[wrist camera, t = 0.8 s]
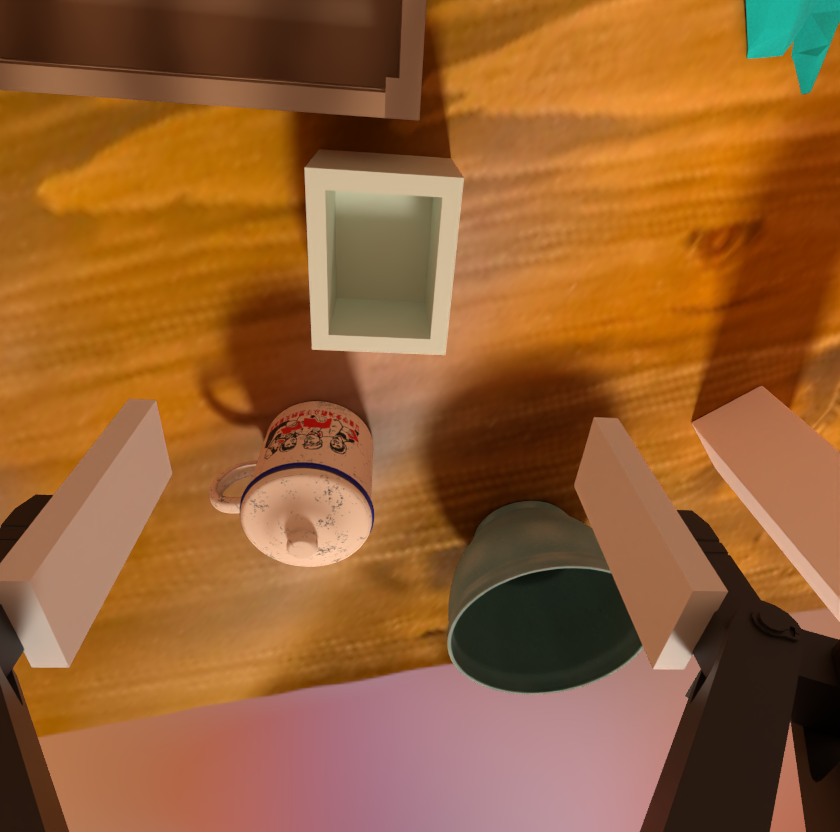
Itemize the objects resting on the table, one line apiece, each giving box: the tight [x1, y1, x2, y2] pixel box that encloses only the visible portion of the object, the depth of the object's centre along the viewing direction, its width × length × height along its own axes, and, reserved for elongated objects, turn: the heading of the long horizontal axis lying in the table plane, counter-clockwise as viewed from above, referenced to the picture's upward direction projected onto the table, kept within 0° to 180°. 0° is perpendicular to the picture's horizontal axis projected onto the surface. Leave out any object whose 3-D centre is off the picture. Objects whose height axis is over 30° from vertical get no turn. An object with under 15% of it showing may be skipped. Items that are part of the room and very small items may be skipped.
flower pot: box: [447, 501, 644, 695], centre depth 47 cm, size 16×16×11 cm
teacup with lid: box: [209, 401, 374, 567], centre depth 40 cm, size 12×9×12 cm
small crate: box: [304, 149, 464, 355], centre depth 33 cm, size 8×10×7 cm
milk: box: [692, 386, 840, 622], centre depth 37 cm, size 6×6×22 cm
